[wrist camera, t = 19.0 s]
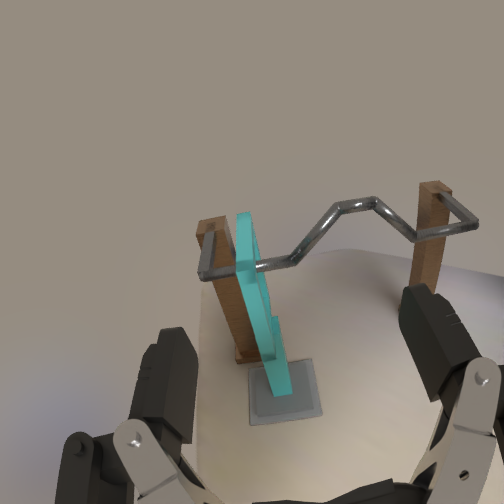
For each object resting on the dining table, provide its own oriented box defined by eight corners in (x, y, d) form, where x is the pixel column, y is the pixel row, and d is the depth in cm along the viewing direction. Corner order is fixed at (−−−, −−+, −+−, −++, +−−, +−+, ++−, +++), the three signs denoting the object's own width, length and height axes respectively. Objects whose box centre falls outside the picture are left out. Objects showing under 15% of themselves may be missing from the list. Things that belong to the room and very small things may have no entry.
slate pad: (312, 359, 40) (311, 358, 40) (322, 415, 33) (322, 414, 32) (249, 369, 41) (248, 368, 41) (250, 425, 33) (250, 424, 33)
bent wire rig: (421, 303, 43) (441, 147, 29) (448, 353, 34) (499, 182, 20) (237, 341, 46) (183, 187, 32) (237, 400, 37) (160, 239, 23)
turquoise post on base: (255, 369, 40) (205, 220, 27) (305, 361, 40) (282, 205, 27) (258, 422, 33) (194, 279, 20) (314, 413, 33) (297, 261, 20)
